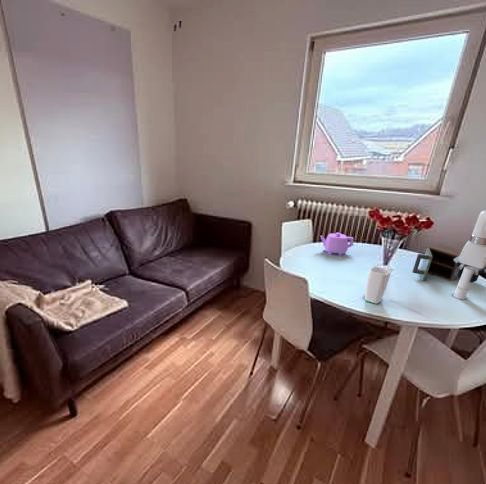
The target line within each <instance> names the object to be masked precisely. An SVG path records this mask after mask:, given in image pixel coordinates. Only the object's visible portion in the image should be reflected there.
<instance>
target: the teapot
mask: <svg viewBox="0 0 486 484" xmlns="http://www.w3.org/2000/svg"><path fill="white" fill-rule="evenodd" d="M319 236H320V237H319V238H320V240H321V242H322V244H323V246H324V250H325V252H327V254H328V255H333V254H338V255H339V256H343V254H346V253H347V252H348V250H349V248H352V247H353V246H354V237H353V236H347V235H346V234H344V233H341V232H335V233H328V234H327V237H326V238H325V237H324V235H319ZM348 241H349V242H348Z"/></svg>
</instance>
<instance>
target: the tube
mask: <svg viewBox="0 0 486 484" xmlns="http://www.w3.org/2000/svg"><path fill="white" fill-rule="evenodd" d="M474 273H475V267H472V266H467V267H464V270H463V272H462V275H461V278H459V281H458V283H457V285H456V288H455V291H454V293H453V297H454V298H456V299H458V300H459V299H460V300H466V297H467V295H468V293H469V290H470V287H471V285H472V283H471V282H470V280H471V277H472V275H473V274H474Z"/></svg>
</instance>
